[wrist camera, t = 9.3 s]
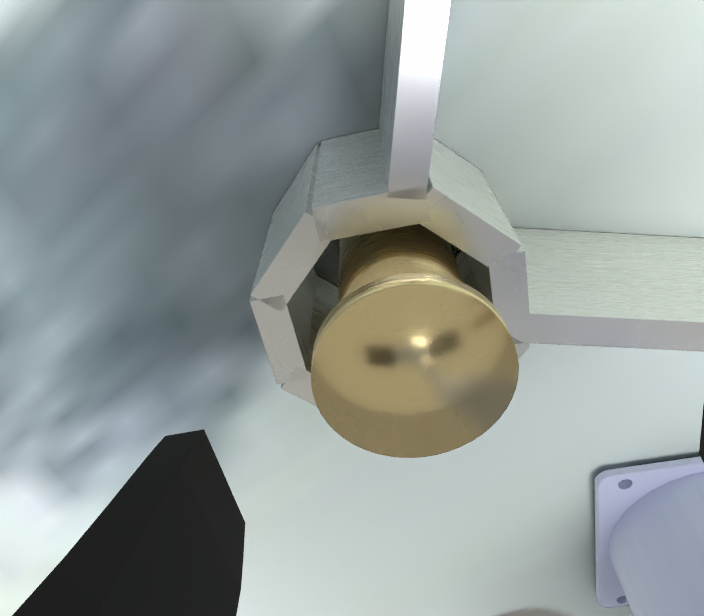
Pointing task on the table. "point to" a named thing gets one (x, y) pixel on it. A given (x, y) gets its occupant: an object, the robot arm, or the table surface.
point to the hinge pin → (410, 348)
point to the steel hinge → (460, 232)
